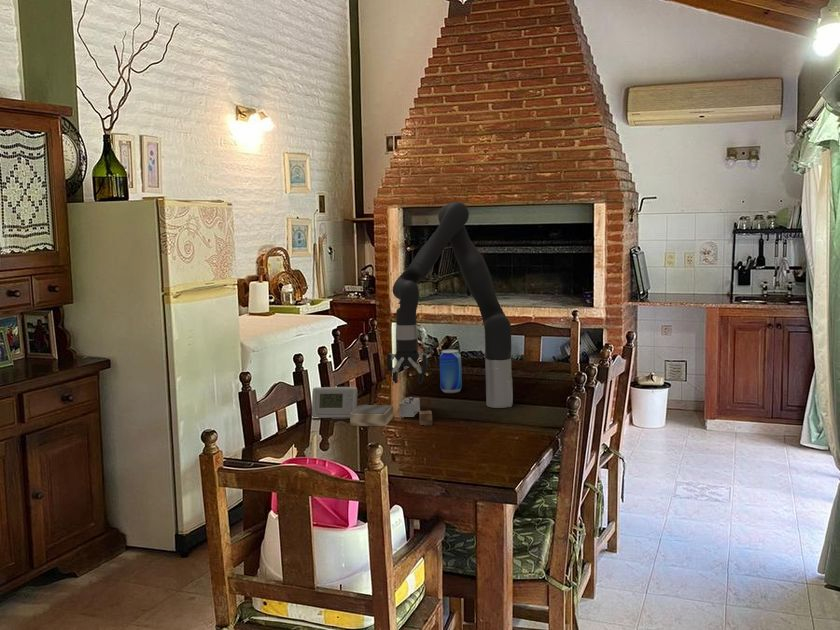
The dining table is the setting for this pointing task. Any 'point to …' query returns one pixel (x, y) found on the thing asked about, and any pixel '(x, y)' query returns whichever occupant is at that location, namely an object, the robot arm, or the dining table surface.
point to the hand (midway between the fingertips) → (407, 383)
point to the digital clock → (334, 402)
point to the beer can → (450, 371)
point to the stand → (371, 415)
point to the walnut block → (425, 417)
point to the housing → (409, 407)
